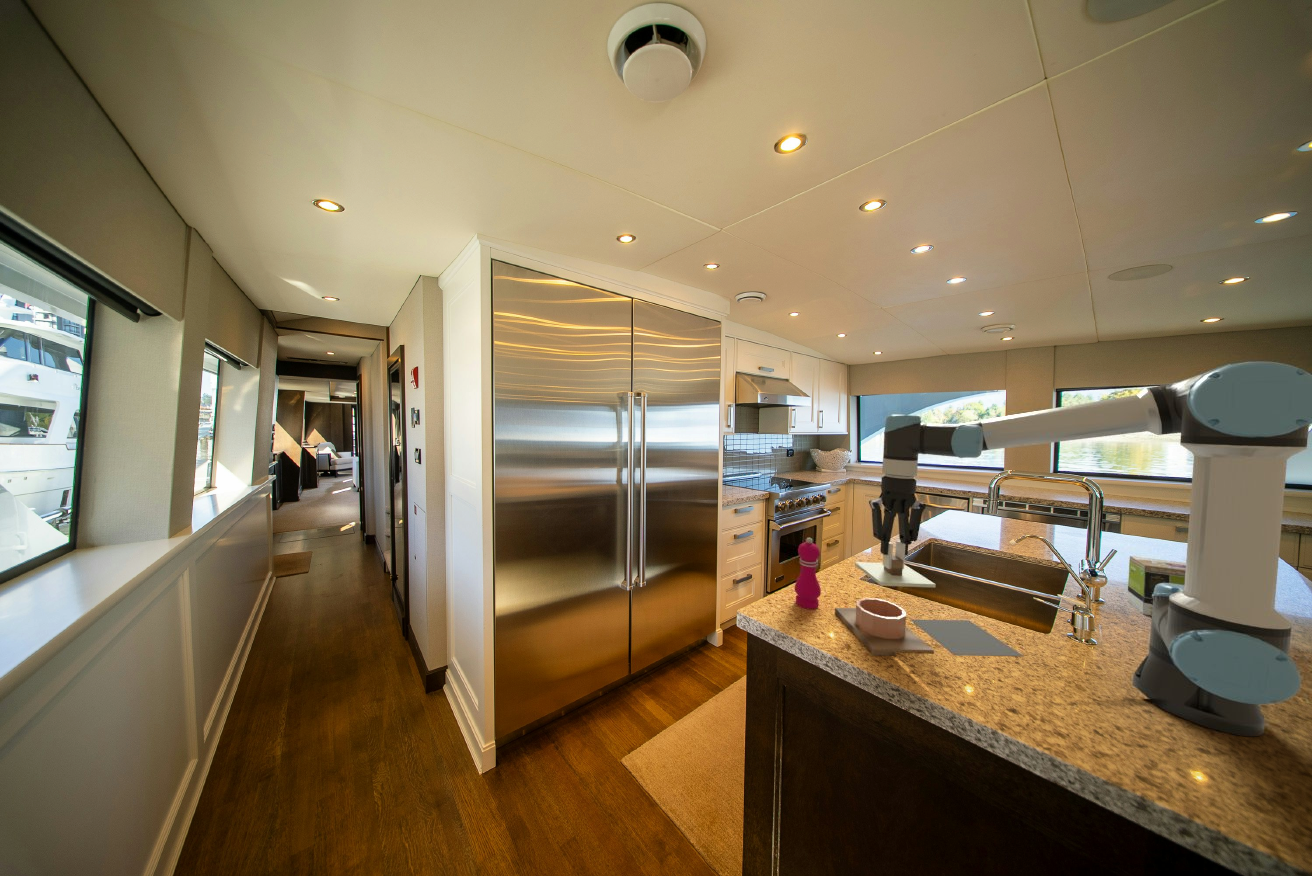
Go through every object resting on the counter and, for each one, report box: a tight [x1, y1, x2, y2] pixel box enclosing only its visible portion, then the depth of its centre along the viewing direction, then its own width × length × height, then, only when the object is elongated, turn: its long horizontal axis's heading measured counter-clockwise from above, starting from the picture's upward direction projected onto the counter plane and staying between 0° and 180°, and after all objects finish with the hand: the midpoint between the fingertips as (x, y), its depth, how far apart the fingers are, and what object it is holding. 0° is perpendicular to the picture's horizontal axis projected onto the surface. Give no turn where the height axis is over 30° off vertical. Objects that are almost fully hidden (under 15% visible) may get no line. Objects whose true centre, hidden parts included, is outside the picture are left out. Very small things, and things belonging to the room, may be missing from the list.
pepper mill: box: [794, 537, 822, 610], centre depth 117 cm, size 7×7×20 cm
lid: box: [854, 553, 937, 588], centre depth 101 cm, size 13×13×5 cm
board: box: [834, 607, 935, 657], centre depth 102 cm, size 20×14×2 cm
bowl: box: [855, 597, 907, 639], centre depth 102 cm, size 11×11×5 cm
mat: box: [909, 618, 1024, 657], centre depth 99 cm, size 16×16×1 cm
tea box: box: [1127, 556, 1186, 617], centre depth 113 cm, size 15×10×15 cm, turn 58°
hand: (893, 566), depth 101 cm, fingers closed on lid, 2 cm apart
